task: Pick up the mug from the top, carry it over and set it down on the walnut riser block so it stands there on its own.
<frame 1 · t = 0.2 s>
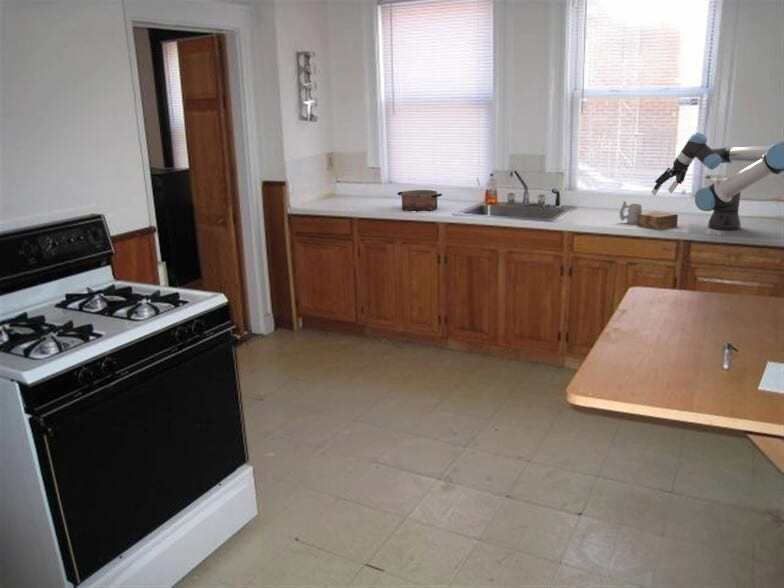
hand: (661, 192, 377), 16 cm above the kitchen counter, tool tilted 35°, fingers open, 13 cm apart
mug: (630, 223, 385), on the kitchen counter
cooking pot: (419, 209, 448), on the kitchen counter
walnut riser: (656, 226, 374), on the kitchen counter
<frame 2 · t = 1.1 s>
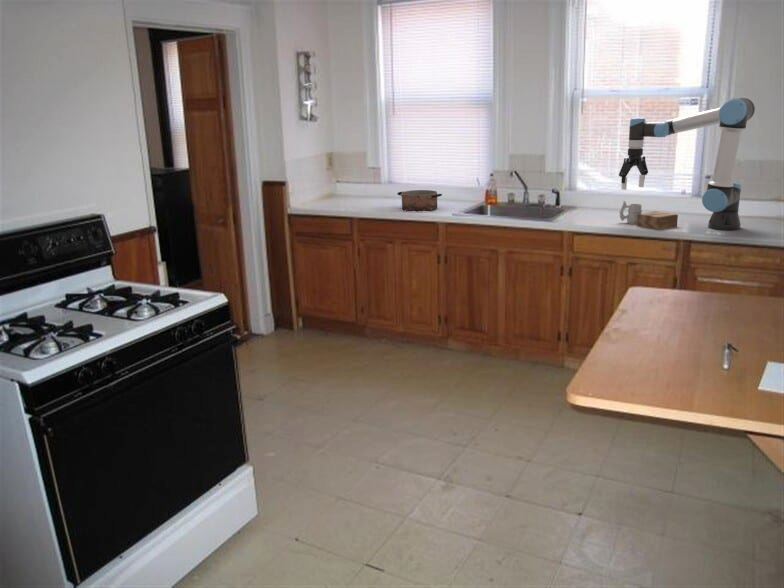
hand: (632, 188, 379), 19 cm above the kitchen counter, tool pointing down, fingers open, 13 cm apart
nothing on the kitchen counter moved.
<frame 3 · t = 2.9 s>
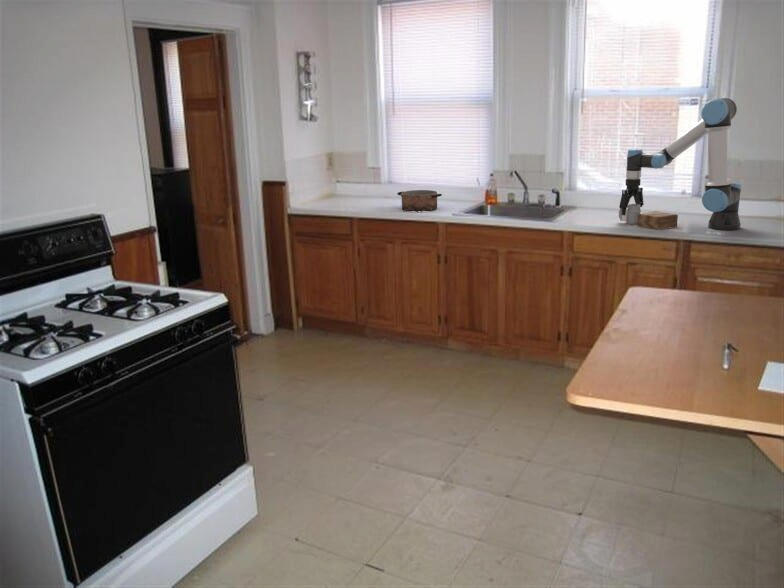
hand: (630, 219, 384), 2 cm above the kitchen counter, tool pointing down, fingers closed on mug, 9 cm apart
mug: (629, 223, 384), on the kitchen counter, touching gripper
everything else where it was.
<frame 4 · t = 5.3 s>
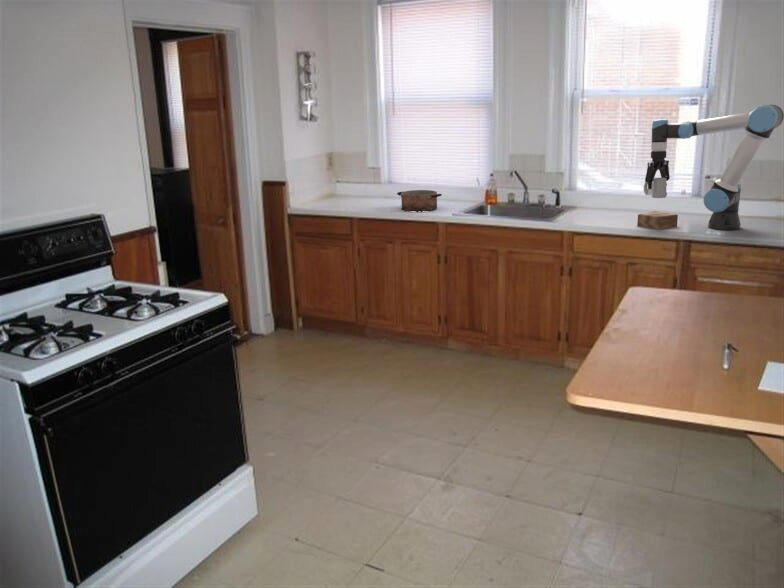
hand: (656, 194, 370), 17 cm above the kitchen counter, tool pointing down, fingers closed on mug, 9 cm apart
mug: (654, 197, 370), point 15 cm above the kitchen counter, touching gripper
everything else where it was.
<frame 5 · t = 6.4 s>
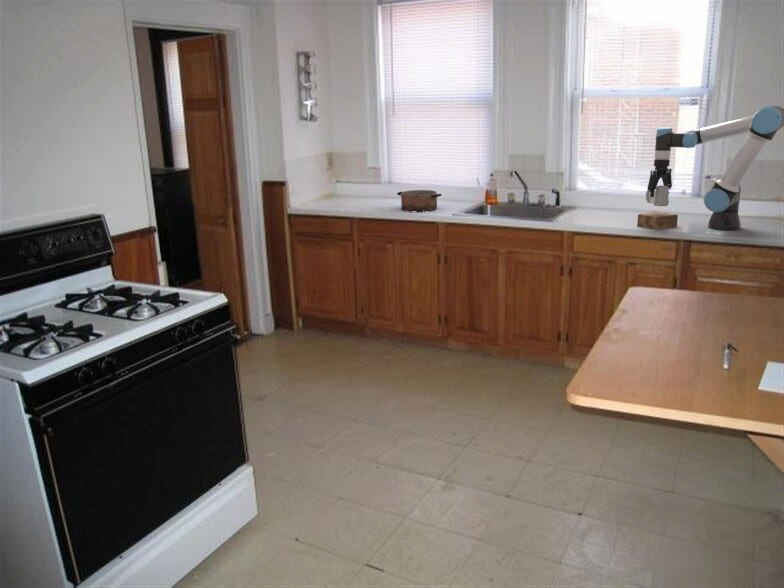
hand: (658, 202, 370), 13 cm above the kitchen counter, tool pointing down, fingers closed on mug, 9 cm apart
mug: (656, 205, 371), point 11 cm above the kitchen counter, touching gripper
everything else where it was.
when the fingers open (9 cm above the kitchen counter, at t = 7.5 s): mug drops 1 cm, resting on walnut riser.
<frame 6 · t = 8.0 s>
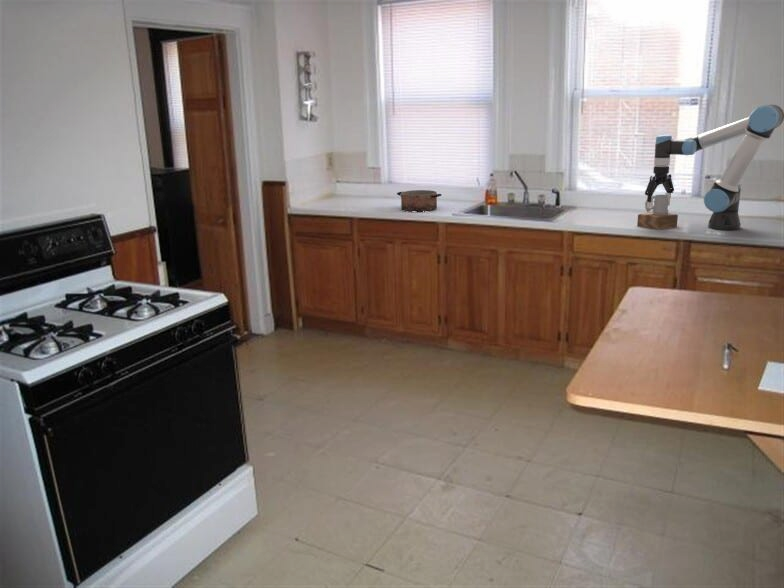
hand: (658, 206, 371), 10 cm above the kitchen counter, tool pointing down, fingers open, 13 cm apart
mug: (656, 214, 372), point 6 cm above the kitchen counter, touching walnut riser
everything else where it was.
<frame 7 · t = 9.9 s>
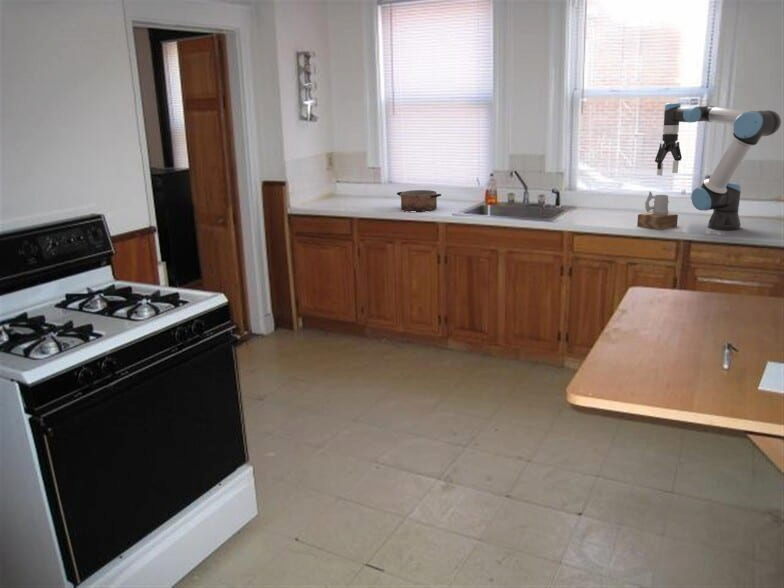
hand: (667, 174, 376), 26 cm above the kitchen counter, tool pointing down, fingers open, 13 cm apart
nothing on the kitchen counter moved.
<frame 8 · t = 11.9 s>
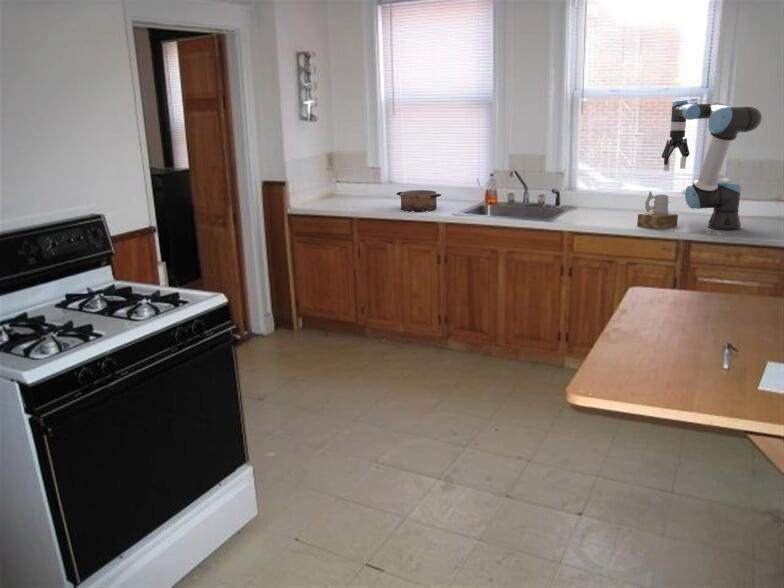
hand: (674, 169, 386), 27 cm above the kitchen counter, tool pointing down, fingers open, 13 cm apart
nothing on the kitchen counter moved.
at the end: mug inside the target area on the walnut riser (1.0 cm from its centre), point 6.1 cm above the walnut riser's base; mug tilted 0°; the gripper is holding nothing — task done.
